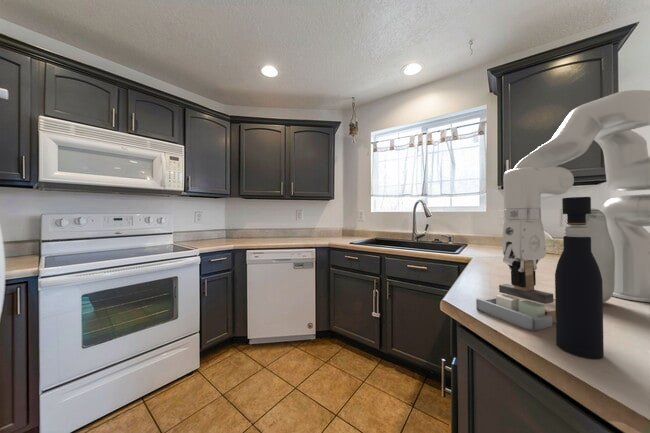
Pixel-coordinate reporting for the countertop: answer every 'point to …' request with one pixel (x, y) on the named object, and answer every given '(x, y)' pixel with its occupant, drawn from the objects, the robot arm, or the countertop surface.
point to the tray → (513, 315)
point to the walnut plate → (549, 307)
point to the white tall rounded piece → (601, 249)
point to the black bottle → (578, 287)
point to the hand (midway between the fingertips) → (523, 284)
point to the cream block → (508, 302)
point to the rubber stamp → (527, 287)
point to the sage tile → (531, 309)
